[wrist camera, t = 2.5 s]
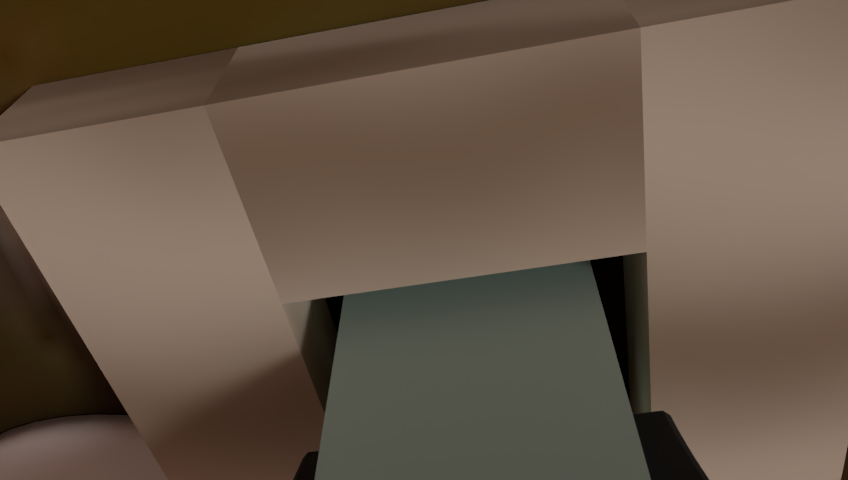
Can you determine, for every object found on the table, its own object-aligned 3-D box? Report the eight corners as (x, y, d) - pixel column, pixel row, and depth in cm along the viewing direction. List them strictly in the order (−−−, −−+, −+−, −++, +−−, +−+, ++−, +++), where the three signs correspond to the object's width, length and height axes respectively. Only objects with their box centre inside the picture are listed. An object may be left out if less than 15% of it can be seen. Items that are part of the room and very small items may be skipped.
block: (593, 383, 15) (669, 710, 10) (397, 408, 15) (380, 731, 11) (578, 219, 13) (667, 538, 8) (350, 254, 13) (299, 574, 8)
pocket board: (784, 487, 17) (822, 570, 15) (271, 540, 18) (255, 622, 17) (858, -69, 10) (940, -26, 8) (32, 86, 11) (-35, 148, 10)
